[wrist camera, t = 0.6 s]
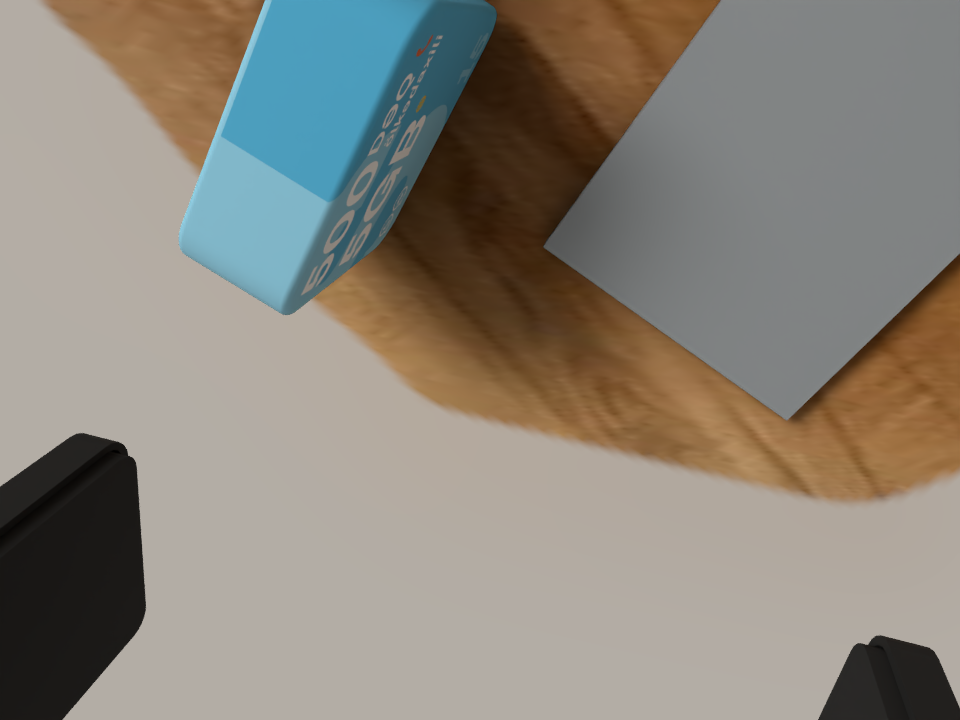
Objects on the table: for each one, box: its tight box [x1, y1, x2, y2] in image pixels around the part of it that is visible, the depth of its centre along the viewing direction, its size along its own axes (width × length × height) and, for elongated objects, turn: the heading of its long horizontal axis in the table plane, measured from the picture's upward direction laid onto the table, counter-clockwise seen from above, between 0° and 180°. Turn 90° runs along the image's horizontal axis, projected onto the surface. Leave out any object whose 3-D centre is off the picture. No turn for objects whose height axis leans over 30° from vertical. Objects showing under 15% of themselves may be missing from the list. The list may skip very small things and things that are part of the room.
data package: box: [179, 0, 497, 315], centre depth 30 cm, size 12×4×12 cm, turn 151°
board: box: [543, 0, 960, 420], centre depth 32 cm, size 18×14×1 cm
